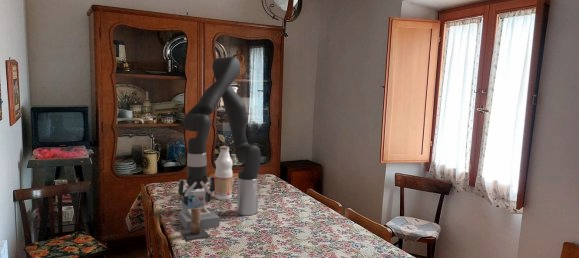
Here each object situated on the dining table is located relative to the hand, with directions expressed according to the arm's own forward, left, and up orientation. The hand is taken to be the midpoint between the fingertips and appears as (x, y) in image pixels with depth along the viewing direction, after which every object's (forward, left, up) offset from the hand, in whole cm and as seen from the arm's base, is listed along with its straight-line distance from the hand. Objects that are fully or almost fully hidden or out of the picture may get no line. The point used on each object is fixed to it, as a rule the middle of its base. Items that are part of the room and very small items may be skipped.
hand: (196, 203), depth 152 cm
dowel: (0, 0, -13) cm, 13 cm away
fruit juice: (-28, -44, -13) cm, 54 cm away
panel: (-5, -12, -13) cm, 18 cm away
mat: (0, 0, -13) cm, 13 cm away
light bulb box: (-7, -28, -13) cm, 32 cm away
